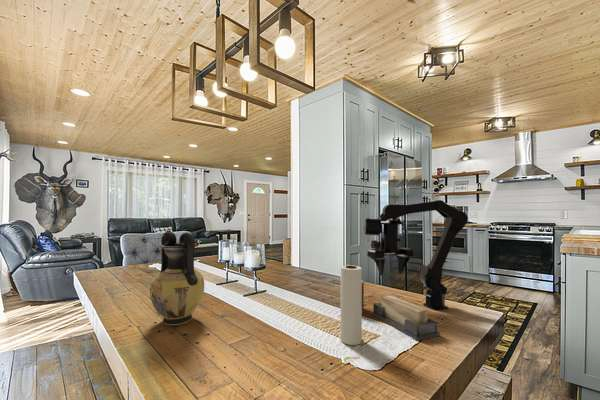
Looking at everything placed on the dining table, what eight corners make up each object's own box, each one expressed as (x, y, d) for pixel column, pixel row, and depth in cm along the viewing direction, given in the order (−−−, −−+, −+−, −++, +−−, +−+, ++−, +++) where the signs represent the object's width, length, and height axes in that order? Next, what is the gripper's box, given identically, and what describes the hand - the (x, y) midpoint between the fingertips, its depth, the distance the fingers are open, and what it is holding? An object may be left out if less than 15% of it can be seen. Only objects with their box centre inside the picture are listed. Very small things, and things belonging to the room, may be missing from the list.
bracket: (391, 311, 106) (391, 300, 106) (440, 336, 85) (439, 322, 85) (371, 314, 103) (371, 303, 103) (416, 340, 82) (416, 327, 82)
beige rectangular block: (389, 312, 102) (389, 295, 102) (427, 329, 88) (427, 309, 88) (381, 314, 100) (381, 296, 100) (418, 331, 86) (418, 311, 86)
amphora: (136, 326, 91) (138, 232, 92) (175, 308, 107) (177, 229, 108) (179, 335, 85) (181, 234, 86) (214, 315, 101) (216, 230, 101)
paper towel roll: (357, 348, 78) (357, 269, 78) (337, 342, 81) (337, 267, 81) (365, 338, 84) (365, 265, 84) (346, 333, 87) (347, 263, 88)
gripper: (395, 233, 125) (395, 268, 124) (359, 234, 118) (359, 271, 117) (414, 235, 114) (414, 274, 114) (376, 236, 108) (376, 278, 107)
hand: (390, 274), depth 113 cm, fingers open, 9 cm apart
